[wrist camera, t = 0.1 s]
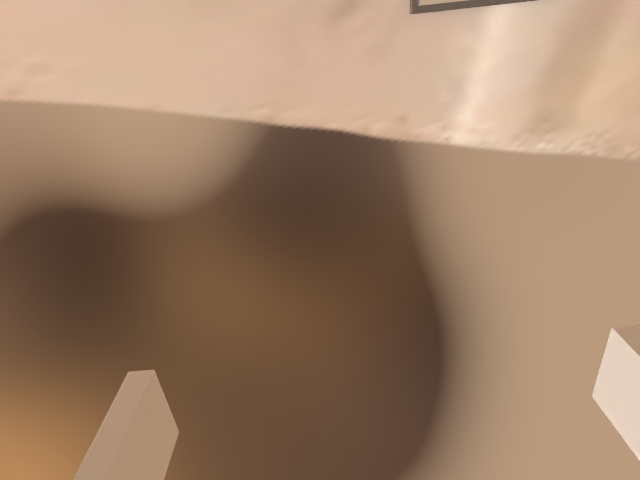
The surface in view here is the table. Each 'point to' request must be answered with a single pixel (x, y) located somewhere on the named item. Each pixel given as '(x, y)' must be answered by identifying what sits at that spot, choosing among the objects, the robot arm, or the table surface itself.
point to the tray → (453, 4)
